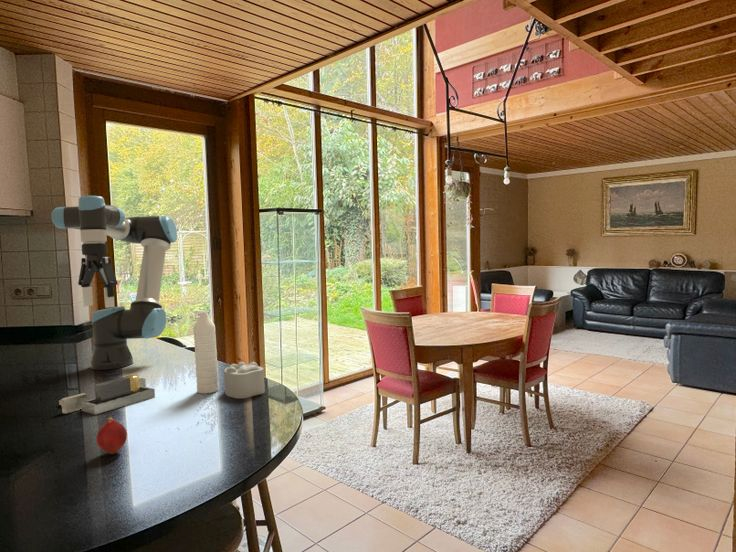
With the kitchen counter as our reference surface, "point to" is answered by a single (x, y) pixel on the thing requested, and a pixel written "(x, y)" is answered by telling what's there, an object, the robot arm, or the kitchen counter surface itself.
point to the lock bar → (117, 388)
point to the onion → (111, 436)
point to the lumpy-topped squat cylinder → (244, 380)
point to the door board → (91, 407)
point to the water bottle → (205, 354)
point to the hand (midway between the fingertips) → (98, 306)
